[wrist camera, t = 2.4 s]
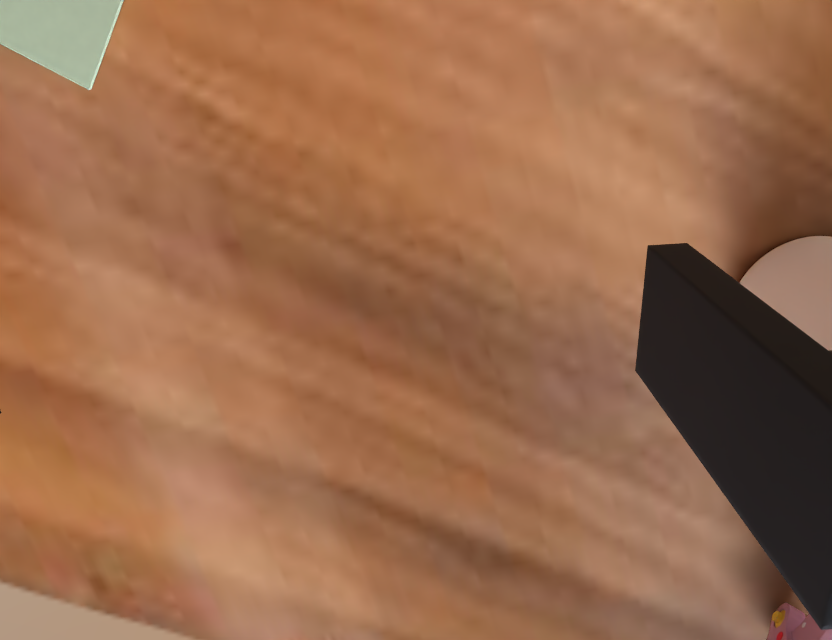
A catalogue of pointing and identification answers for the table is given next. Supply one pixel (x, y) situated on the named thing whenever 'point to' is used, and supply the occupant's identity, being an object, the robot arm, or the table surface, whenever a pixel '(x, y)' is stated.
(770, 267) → the pill bottle
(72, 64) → the mat
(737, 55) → the table surface
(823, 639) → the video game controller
